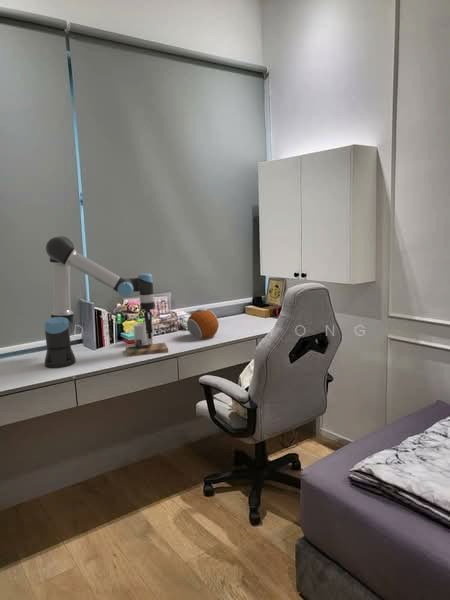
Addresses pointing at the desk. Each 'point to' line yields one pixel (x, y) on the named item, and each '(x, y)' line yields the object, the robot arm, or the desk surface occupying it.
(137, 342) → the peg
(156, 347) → the wooden board
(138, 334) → the mug
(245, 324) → the desk surface
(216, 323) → the orange ball
